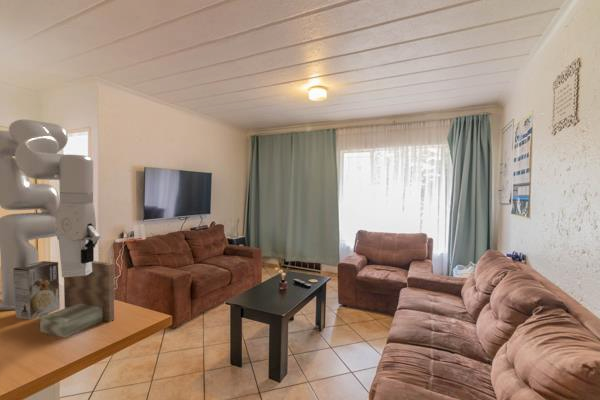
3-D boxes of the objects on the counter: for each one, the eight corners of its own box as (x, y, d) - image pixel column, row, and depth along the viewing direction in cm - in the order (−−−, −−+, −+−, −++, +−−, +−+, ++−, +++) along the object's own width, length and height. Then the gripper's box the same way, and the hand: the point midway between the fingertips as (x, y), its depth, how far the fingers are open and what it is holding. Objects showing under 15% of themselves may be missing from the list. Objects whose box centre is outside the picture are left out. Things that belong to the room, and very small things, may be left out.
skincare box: (92, 271, 85) (91, 231, 84) (85, 276, 81) (83, 233, 80) (68, 273, 84) (66, 232, 83) (59, 278, 79) (57, 234, 79)
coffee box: (45, 305, 100) (44, 260, 99) (60, 308, 98) (59, 261, 97) (14, 317, 91) (12, 267, 90) (30, 320, 89) (29, 269, 88)
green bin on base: (24, 327, 85) (22, 267, 84) (69, 309, 97) (68, 257, 96) (72, 339, 79) (71, 275, 78) (114, 319, 91) (113, 263, 90)
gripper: (40, 197, 80) (41, 259, 81) (85, 201, 75) (85, 268, 76) (69, 196, 87) (69, 253, 88) (112, 200, 82) (112, 261, 83)
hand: (77, 260), depth 82 cm, fingers closed on skincare box, 7 cm apart
